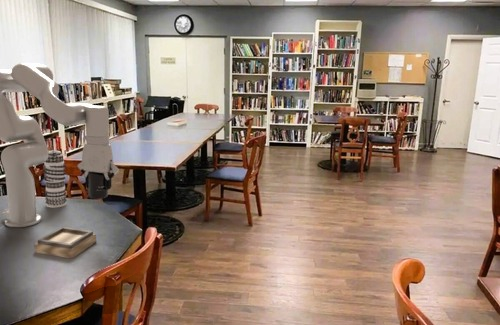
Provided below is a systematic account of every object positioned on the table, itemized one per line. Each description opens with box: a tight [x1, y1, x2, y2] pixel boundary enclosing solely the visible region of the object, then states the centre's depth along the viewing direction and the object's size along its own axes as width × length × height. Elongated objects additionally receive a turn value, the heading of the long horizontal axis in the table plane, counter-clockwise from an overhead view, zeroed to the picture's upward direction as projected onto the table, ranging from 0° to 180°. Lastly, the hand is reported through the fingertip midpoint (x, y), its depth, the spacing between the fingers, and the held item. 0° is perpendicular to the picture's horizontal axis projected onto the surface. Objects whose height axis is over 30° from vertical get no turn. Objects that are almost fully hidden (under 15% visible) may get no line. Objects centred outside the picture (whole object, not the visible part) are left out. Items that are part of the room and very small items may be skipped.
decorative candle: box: [42, 150, 67, 209], centre depth 172 cm, size 9×9×25 cm
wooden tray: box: [33, 226, 97, 259], centre depth 134 cm, size 14×14×4 cm
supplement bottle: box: [87, 172, 109, 200], centre depth 139 cm, size 7×7×12 cm
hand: (98, 187), depth 140 cm, fingers closed on supplement bottle, 6 cm apart
